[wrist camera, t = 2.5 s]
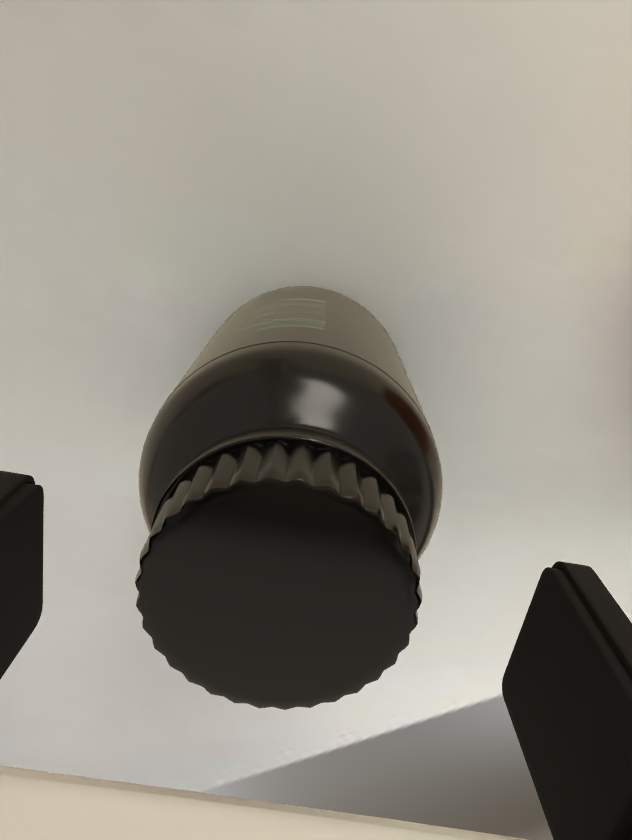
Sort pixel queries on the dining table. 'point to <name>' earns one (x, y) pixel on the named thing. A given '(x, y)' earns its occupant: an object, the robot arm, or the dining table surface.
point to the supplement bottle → (288, 505)
